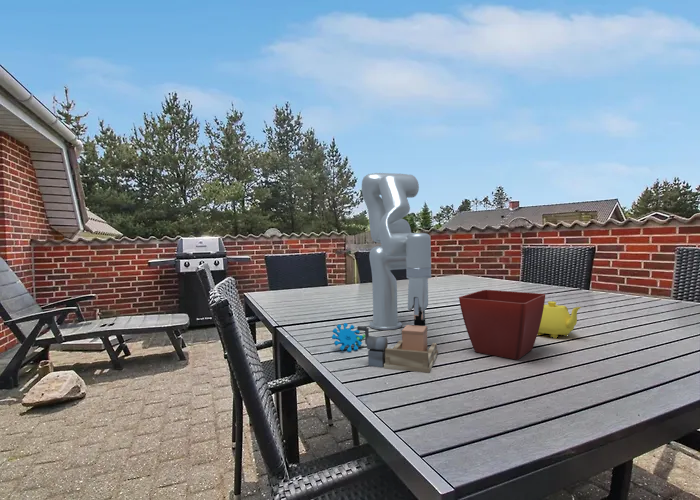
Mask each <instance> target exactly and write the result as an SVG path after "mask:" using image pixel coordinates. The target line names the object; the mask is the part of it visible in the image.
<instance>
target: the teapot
mask: <svg viewBox="0 0 700 500" xmlns="http://www.w3.org/2000/svg"><path fill="white" fill-rule="evenodd" d="M581 308H582V306H578V307H574V308H573V309H572V310H571V314H570V312H569V309H568V307H567V306H566V305H563V304H562V305H558V304H557V301H547V304H544V309H543V314H542V319H541V323H540V327H539V331H538V334H543V335H544V334H549V335H550V338H551V337H553V338H557V337H558V338H559V335H560V336H562V335H565V336H564V337H568V336H567V335H569V334H570V333H571V332H572V331H573V330H574V329H575V326H576V325H577V323H578V311H579V310H580V309H581ZM553 338H552V339H553Z"/></svg>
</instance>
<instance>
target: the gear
mask: <svg viewBox="0 0 700 500" xmlns="http://www.w3.org/2000/svg"><path fill="white" fill-rule="evenodd" d="M348 325H349V324H348V323H347V322H344V323H343V326H342V324H337V325H336V328H333V329H332V331H331V332H332V333H333V334H332V336H331V339H332V340H334V344H333V345H334V346H336V347H337V346H339V345H340V346H339V350H341V351H344V349H345V348H346V347H348V348H347V349H346V352H348V353H351V352H352V350H353V351H358V350H359V347H361V346H362V344H363V340H364V339H365V333H364V334H362V335H360V332H361V331H358V330H357V329H356V330H354V329H355V325H353V324H350V326H349V328H347V327H348ZM342 327H343V329H342ZM352 346H353V349H352Z"/></svg>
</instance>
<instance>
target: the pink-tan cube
mask: <svg viewBox="0 0 700 500" xmlns="http://www.w3.org/2000/svg"><path fill="white" fill-rule="evenodd" d="M401 340H402V349H403V350H415V351H427V349H429V348H428V347H429V346H428V326H427V325H425V326H418V325H414V324H406V325H405V326H404V328H402V329H401Z"/></svg>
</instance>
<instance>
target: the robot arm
mask: <svg viewBox="0 0 700 500" xmlns="http://www.w3.org/2000/svg"><path fill="white" fill-rule="evenodd" d="M419 190H420V186H419V181H418V179H417V178H416V176H415V175H413V174H407V173H390V172H374V173H368V174H366V175H365V176H363V179H362V180H361V193H362V198H363V201H364V203H365V206H366V208H367V212H368V214H367V215H368V220H369V221H368V222H369V231H370V232H369V233H370V236H371V240H372V241H373V242H374V243H380V245H376V246H374V247H372V248H371V249H370V251H369V256H368V257H369V263H370V264H369V265H370V269H371V277H372V283H371V284H372V285H371V287H372V316H373V317H372V321H370V322H369V323H368V324H369V327H370V328H371V329H375V330H382V331H383V330H385V331H386V330H387V331H388V330H389V331H390V330H397V329H400V328H401V327H402V325H403V324H402V322H401V321H399V319H398V281H397V279H396V277H395V276H394V274H393V273H392V271H393V270H406V279H408V284H407V285H408V288H407V311H409V312H411V311H412V310H413V325H418V326H426V309H427V308H428V307H429V279H432V258H431V257H432V252H431V251H432V249H431V247H432V246H431V245H432V244H431V235H430V234H428V233H426V232H425V233H424V232H423V233H422V232H421V233H420V232H419V233H417V232H412V229H411V226H410V223H409V222H408V220H406V219H405V218H404V217H407V215H408V214H409V213H410V210H411V207H410V203H409V201H408V200H409V198H410V199H411V198H415V197H416V196H417V195H418V193H419Z"/></svg>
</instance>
